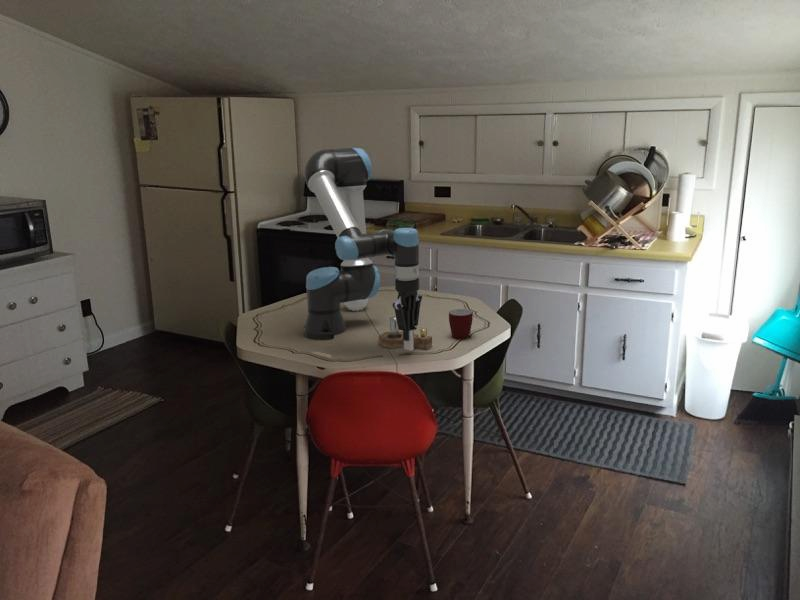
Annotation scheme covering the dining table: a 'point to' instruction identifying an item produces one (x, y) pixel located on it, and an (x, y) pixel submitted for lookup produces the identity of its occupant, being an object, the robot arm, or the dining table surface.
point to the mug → (460, 323)
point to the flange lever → (399, 342)
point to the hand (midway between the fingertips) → (408, 349)
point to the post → (394, 328)
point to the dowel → (423, 332)
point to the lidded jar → (356, 304)
